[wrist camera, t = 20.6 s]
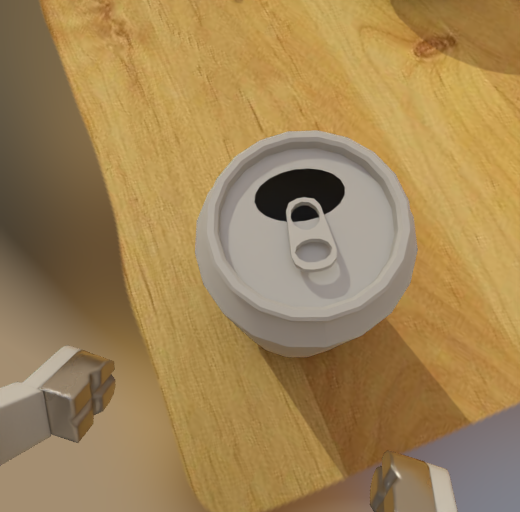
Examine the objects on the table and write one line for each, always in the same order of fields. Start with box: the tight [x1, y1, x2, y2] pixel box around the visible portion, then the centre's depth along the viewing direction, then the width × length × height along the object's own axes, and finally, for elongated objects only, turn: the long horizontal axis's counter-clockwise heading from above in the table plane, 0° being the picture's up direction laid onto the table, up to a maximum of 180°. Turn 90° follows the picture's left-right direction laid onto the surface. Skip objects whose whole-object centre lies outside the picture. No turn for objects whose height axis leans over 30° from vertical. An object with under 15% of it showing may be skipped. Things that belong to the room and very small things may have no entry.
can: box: [195, 131, 418, 357], centre depth 16 cm, size 8×8×12 cm
